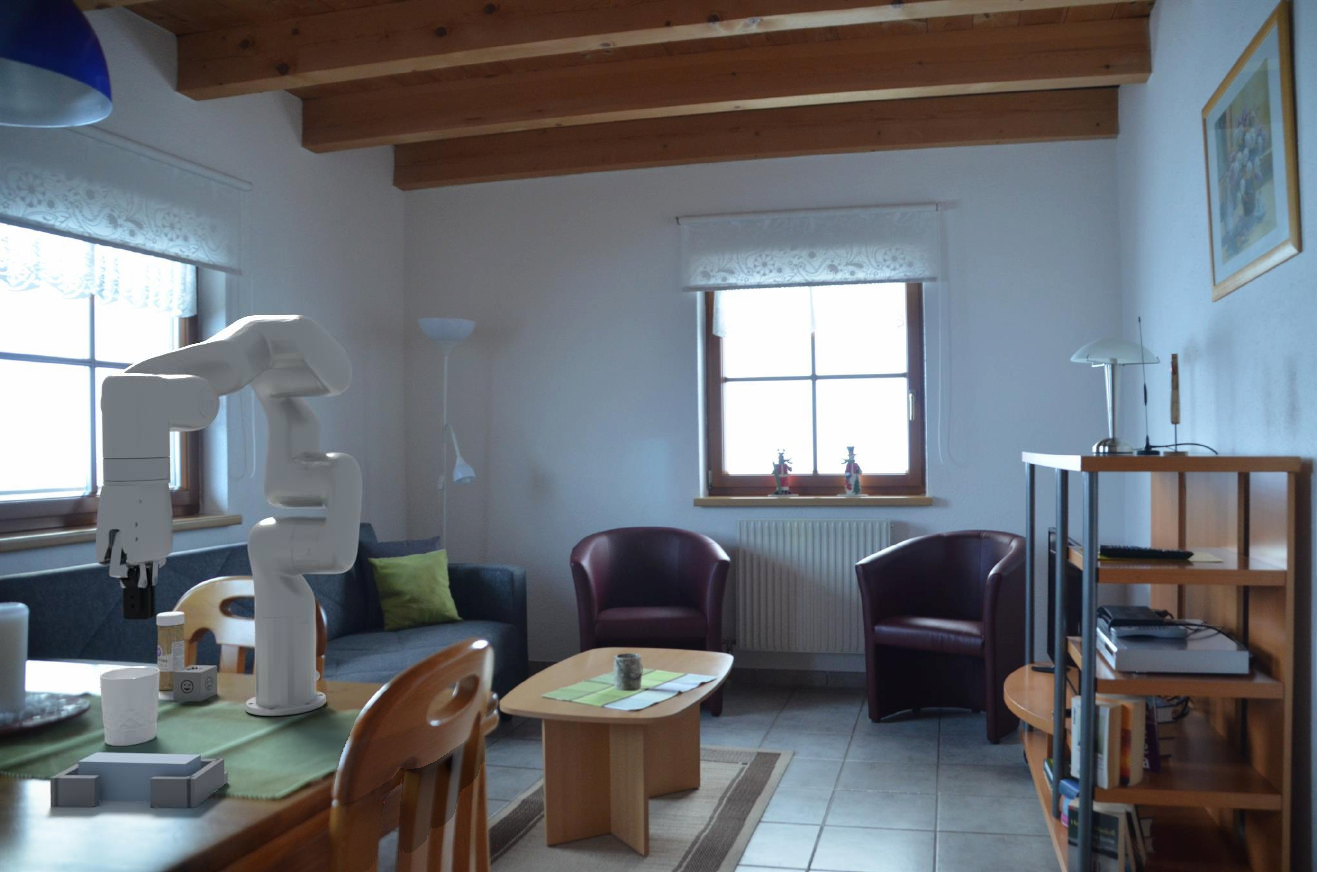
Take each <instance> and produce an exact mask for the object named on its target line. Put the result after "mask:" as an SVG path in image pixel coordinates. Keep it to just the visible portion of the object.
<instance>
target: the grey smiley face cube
mask: <svg viewBox="0 0 1317 872" xmlns="http://www.w3.org/2000/svg"><path fill="white" fill-rule="evenodd" d="M172 691H173V692H172V693H173V694H172V695H173V702H174V701H176V702H203V701H206V700H207V699H209V698H211V697H214V696H216V695H218V666H217V665H205V664H202V665H199V664H197V665H195V664H189V665H188V666H184V668H182V669H179V670H177V671H174V672H173V690H172Z"/></svg>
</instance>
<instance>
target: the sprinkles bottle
mask: <svg viewBox="0 0 1317 872" xmlns="http://www.w3.org/2000/svg"><path fill="white" fill-rule="evenodd" d="M185 615H186V614H185V612H184V611H165V612H160V613H158V614H157V615H156V625H157V626H156V627H157V659H156V660H157V662H156V665H157V666H156V668H159V669H160V679H159V691H173V672H174V671H177V670H179V669H182V668H184V667H185V637H184V635H185V633H184V632H185V631H184V629H185V627H184V625H185V622H186V621H185V620H186V619H185V617H186V616H185Z"/></svg>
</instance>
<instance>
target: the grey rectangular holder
mask: <svg viewBox="0 0 1317 872" xmlns="http://www.w3.org/2000/svg"><path fill="white" fill-rule="evenodd" d="M227 782H228V783H229V771H225V758H201V770H199V771H198V772H196V773H195V774H193V775H192V776H154V777H152V778H151V802H150V808H173V809H175V808H185V809H186V808H190V809H191V808H197V807H198V806H200V805H201V804H202V803H203V802H205V801H206V800H207V799H209V798H210V797H211V796H212V795H211V794H212V793H213V792H214V791H216V790H218V789H219V788H220V787H222V786H223V785H224V784H226V783H227ZM49 784H50V789H49V790H50V807H55V808H56V807H59V808H60V807H64V808H65V807H66V808H71V807H72V808H73V807H75V808H78V807H79V808H95V807H96V806H98V805H100V800H99V775H78V763H76V764H73V765H72V766H70V767H68V768H66V769H65V770H63V771H61V772H59V773H57V774H56V775H52V777H50V783H49ZM226 785H227V784H226ZM222 788H223V787H222ZM218 791H219V790H218ZM210 795H211V796H210ZM209 796H210V797H209ZM208 797H209V798H208ZM204 800H205V801H204ZM201 802H202V803H201Z"/></svg>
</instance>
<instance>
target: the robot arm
mask: <svg viewBox="0 0 1317 872" xmlns="http://www.w3.org/2000/svg"><path fill="white" fill-rule="evenodd" d="M350 360H351V359H350V358H349V355H348V353H347V352H346V351H345V349H344V348H343V346H342V345H341V344H340V343H339V342H338V341H337V340H336V339H335V338H334V337H333V336H332V335H331V334H330V333H329V332H328V331H327V330H326V329H325V327H323V326H322V325H321V324H320V323H318V322H317V321H316V320H314V319H312V318H311V317H308V316H306V315H301V314H284V315H281V314H278V315H274V314H273V315H251V316H246V317H243V318H241V319H238V320H236V321H235V322H233V323H232V324H230V325H229V326H227V327H225V328H224V329H223V330H221V331H219V332H217V333H216V334H215V335H213V336H211V337H210V338H208V339H207V340H205V341H202V342H200V343H195V344H190V345H187V346H185V347H181V348H178V349H174V350H171V351H169V352H165V353H162V354H158V355H154V356H151V357H147V358H145V359H143V360H140V361H137V362H135V363H134V364H132V365H129V366H127V367H126V368H125V369H123V370H121V371H119V372H118V373H116V374H111V375H107V377H105V378H104V380H103V381H102V384H101V398H100V409H101V424H102V425H101V427H102V428H101V431H102V432H101V434H102V435H101V436H102V437H101V439H102V469H103V470H102V476H103V477H102V479H103V481H102V484H103V485H101V489H100V493H99V499H98V508H97V516H96V517H97V518H96V535H95V536H96V537H95V558H96V559H95V560H96V563H98V564H99V565H100V566H109V571H108V575H109V576H110V577H112V578H116V579H117V578H118V579H119V583H120V587H121V589H122V594H123V595H122V596H123V597H122V598H123V600H122V601H123V604H122V605H123V619H124V620H149V619H151V618H154V617H156V584H157V583H158V575H159V573H158V572H159V570H160V569H161V568H162V567H163V566H165V564H166V563H167V558H166V557H168V556H169V555H170V554H171V553H172V552H173V548H174V520H173V519H174V518H173V506H172V498H171V497H172V496H171V490H170V483H171V438H170V437H171V433H172V432H195V431H199V430H203V429H205V428H206V427H208V426H209V425H211V424H212V423H213V422H214V421H215V419H217V416H218V414H219V412H220V411H219V410H220V402H221V401H220V398H221V397H226V396H229V395H233V394H236V393H238V392H240V391H242V390H243V389H244V388H245V387H246V386H248V385H250V387H251V389H252V390H253V392H254V394H255V396H256V397H257V400H258V402H259V403H260V406H261V407H262V409H263V412H264V414H265V417H266V420H267V442H266V443H267V444H266V445H267V446H266V454H265V463H264V466H265V467H264V475H263V494H264V498H265V500H266V502H267V503H268V504H270V505H271V506H273V507H276V508H279V509H292V510H294V509H296V510H297V509H299V510H301V509H302V510H308V509H309V510H314V509H315V510H319V509H321V510H322V509H323V510H324V509H325V512H326V516H307V515H302V516H301V515H300V516H298V515H297V516H295V515H294V516H293V515H288V516H286V515H285V516H284V515H282V516H281V515H279V516H272V517H267V518H263V519H262V520H260V521H258V522H257V523H255V524H254V525H253V527H252V528H251V529H250V531H249V533H248V537H247V554H248V559H249V564H250V568H251V574H252V581H253V592H254V593H253V594H254V681H255V683H254V692H255V693H254V694H255V696H252V697H251V698H249V699H248V700H246V701H245V703H244V705H245V707H244V708H245V712H247V713H249V714H250V715H255V716H261V717H262V716H264V717H266V716H267V717H269V716H270V717H275V716H276V717H278V716H279V717H280V716H288V715H299V714H302V713H308V712H310V711H314V710H316V709H320V708H321V707H323V706H324V705H325V704H327V703H326V702H327V695H326V694H325V693H324V692H321V691H318V690H317V681H318V680H319V679H320V678H321V674H320V672H319V671H318V670H317V657H316V656H317V652H316V651H317V649H316V648H317V647H316V646H317V645H316V642H317V641H316V640H317V639H316V638H317V636H316V632H317V631H316V618H317V616H316V615H317V614H316V610H317V609H316V607H317V606H316V598H315V594H314V592H313V590H312V588H311V586H310V585H309V583H308V581H307V580H306V578H305V577H304V576H303V575H338V574H339V575H340V574H343V573H346V572H349V570H351V569H352V568H353V566H354V564H355V562H356V559H357V555H358V550H359V549H358V548H359V541H360V540H359V539H360V529H361V527H360V525H361V513H362V511H361V510H362V498H363V476H362V470H361V467H360V465H359V463H358V461H357V460H356V459H355V458H354V456H352V455H350V454H348V453H345V452H334V451H333V452H331V451H329V452H328V451H327V452H324V451H323V452H321V441H322V440H321V437H322V425H321V422H320V419H319V417H318V415H317V414H316V413H315V411H314V410H313V408H312V407H311V406H310V405H309V404H308V402H307V401H306V400H305V399H304V398H308V397H309V398H310V397H311V398H314V397H315V398H316V397H319V398H320V397H325V398H328V397H329V398H331V397H337V396H340V395H341V394H343V393H345V392H346V391H347V389H349V387H350V385H351V382H352V379H353V368H352V362H351V361H350Z"/></svg>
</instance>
